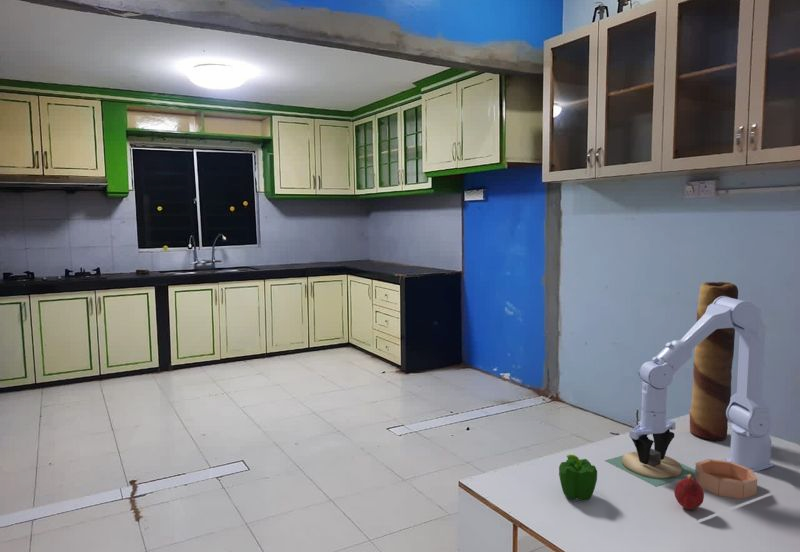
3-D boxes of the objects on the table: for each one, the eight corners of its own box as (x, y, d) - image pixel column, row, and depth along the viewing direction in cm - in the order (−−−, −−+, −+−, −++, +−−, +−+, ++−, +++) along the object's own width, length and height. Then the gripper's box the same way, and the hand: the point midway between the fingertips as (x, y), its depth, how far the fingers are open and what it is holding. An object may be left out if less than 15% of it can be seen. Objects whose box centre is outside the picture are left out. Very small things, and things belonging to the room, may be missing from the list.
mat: (647, 450, 155) (647, 448, 155) (700, 473, 141) (700, 472, 141) (604, 462, 148) (604, 460, 148) (656, 488, 134) (656, 486, 134)
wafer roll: (739, 440, 161) (748, 284, 156) (706, 443, 159) (714, 285, 154) (712, 427, 172) (720, 280, 167) (681, 429, 170) (688, 281, 165)
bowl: (717, 471, 142) (717, 456, 142) (765, 492, 132) (766, 475, 131) (685, 481, 137) (685, 466, 137) (733, 504, 126) (734, 487, 126)
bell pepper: (596, 490, 134) (597, 449, 132) (596, 507, 126) (597, 464, 125) (559, 485, 136) (560, 445, 135) (557, 501, 129) (558, 459, 127)
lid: (647, 450, 154) (647, 437, 154) (694, 471, 142) (694, 456, 141) (610, 461, 148) (610, 447, 147) (655, 483, 135) (656, 468, 135)
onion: (706, 518, 121) (708, 482, 120) (677, 515, 122) (679, 480, 121) (698, 504, 126) (700, 470, 126) (670, 502, 128) (672, 468, 127)
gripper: (659, 400, 150) (657, 449, 151) (620, 409, 143) (618, 460, 145) (683, 408, 143) (681, 459, 145) (643, 417, 137) (641, 471, 139)
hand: (651, 460), depth 144 cm, fingers open, 5 cm apart
